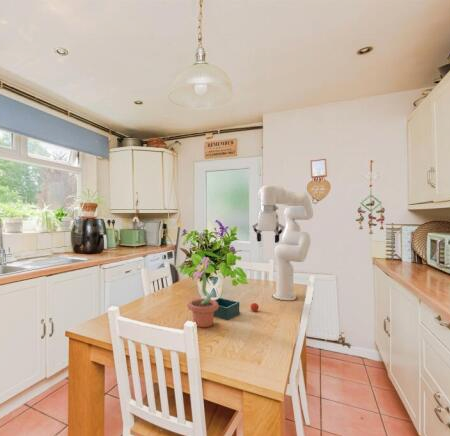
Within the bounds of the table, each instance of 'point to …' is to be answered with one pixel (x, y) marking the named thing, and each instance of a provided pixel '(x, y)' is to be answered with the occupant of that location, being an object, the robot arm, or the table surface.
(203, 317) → the decorative flower
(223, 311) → the box
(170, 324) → the table surface
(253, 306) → the ball
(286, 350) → the table surface
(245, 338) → the table surface
